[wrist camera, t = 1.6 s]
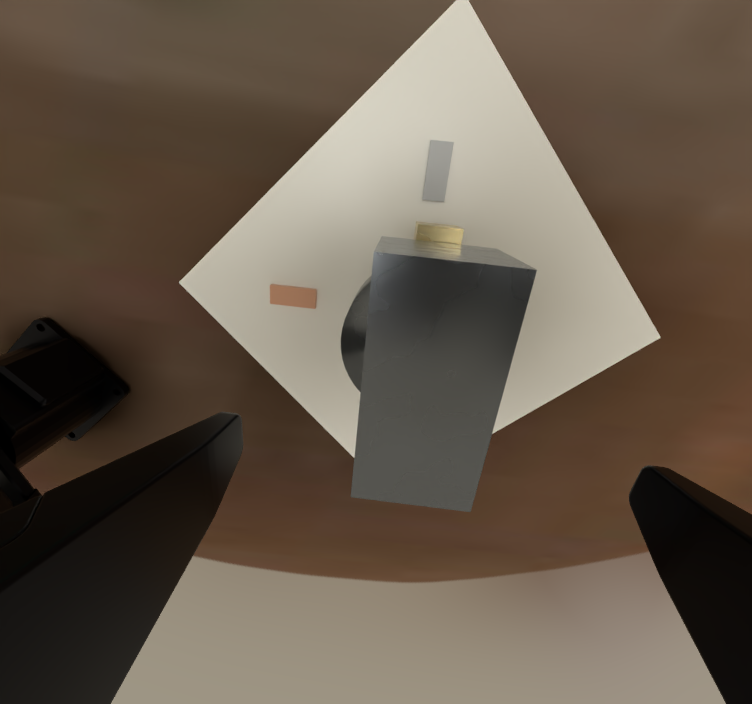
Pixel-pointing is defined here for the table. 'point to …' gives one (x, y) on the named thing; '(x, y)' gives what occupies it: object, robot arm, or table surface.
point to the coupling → (431, 364)
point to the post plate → (398, 219)
